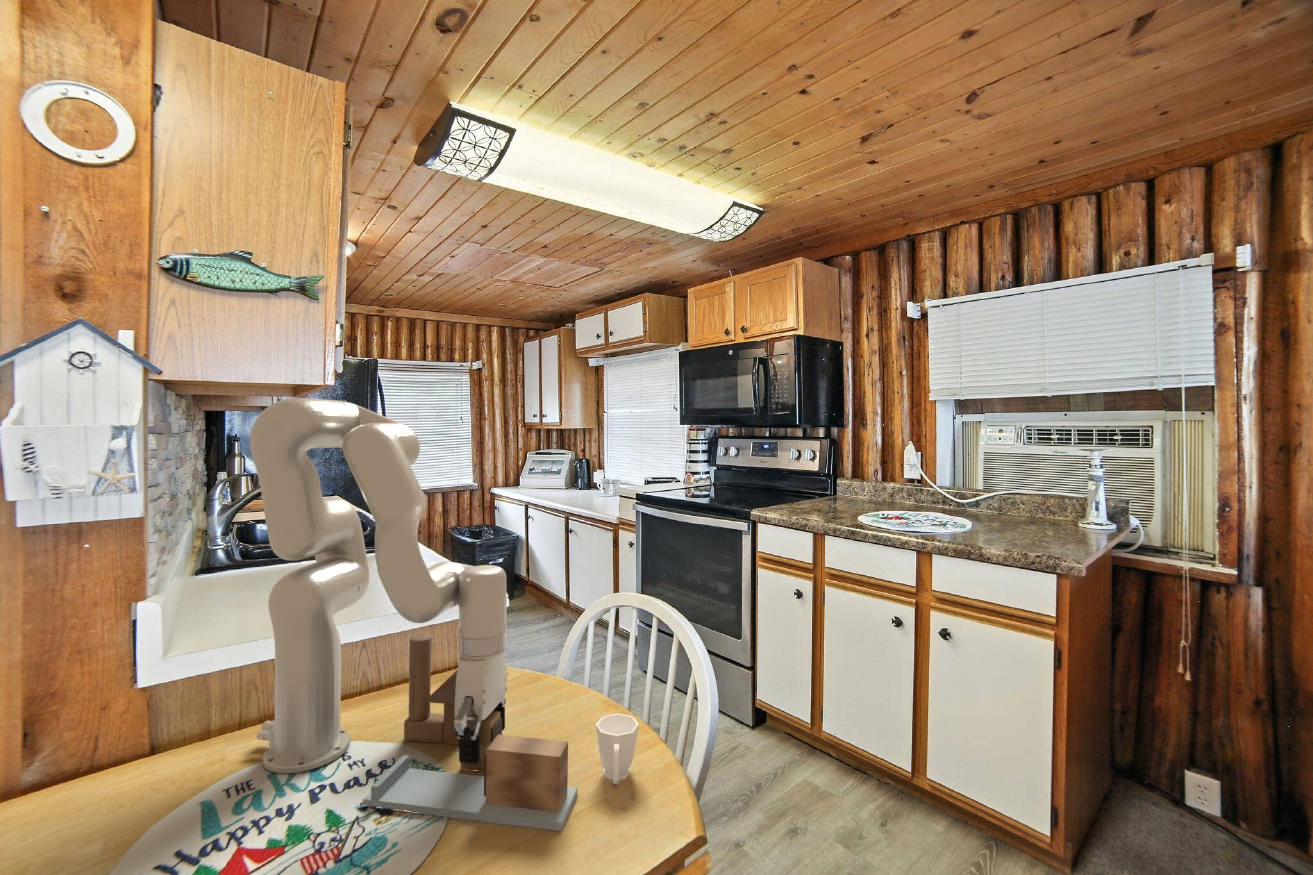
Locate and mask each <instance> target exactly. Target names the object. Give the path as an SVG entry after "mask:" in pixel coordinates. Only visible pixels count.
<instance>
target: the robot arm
mask: <svg viewBox="0 0 1313 875" xmlns="http://www.w3.org/2000/svg"><path fill="white" fill-rule="evenodd" d="M249 448H250V453H251V456H252V460H253V463H254V466H255V470H256V474H257V476H258V477H257V478H258V480H259V487H260V492H261V500H262V501H261V502H262V507H263V512H264V519H265V525H266V530H267V536H268V541H269V545H270V547H271V550H272V551H273V554H275V555H276V556H277V557H278V558H280V559H282V560H285V561H299V560H303V559H308V558H312V557H314V558H315V562H314V563H310V564H308V565H305V566H301V567H300V568H297V569H294V570H292V571H290V572H289V573H287V574H285V575H284V576H282V577H281V578H280V579H278V580H277V582H275V584H274V586H273V587H272V588H271V591H270V593H269V596H268V601H267V602H268V603H267V604H268V611H269V612H268V613H269V617H270V620H271V625H272V630H273V637H274V668H275V669H274V720H266V721H264V722H262V726H261V728H260V730H259V731H258V732H257V734H256V739H257V740H261V741H268V747H267V749H266V750H265V751H264V753H263V756H262V763H263V764H262V765H263V767H264V768H265V769H266V770H268V771H270V772H272V773H277V774H297V773H296V772H298V773H301V772H302V771H303V772H307V770H308V771H310V770H311V771H312V770H313V769H316V768H320V767H322V766H324V765H325V766H326V765H327V764H329V763H331V762H333V761H335V760H336V759H338V758H339V757H340V756H342V755H343V754H344V753H345V752H346V751H347V750H348V749H349V747H350V744H351V734H350V733H349V731H348V730H347V729H345V728H342V727H341V704H342V703H341V698H342V697H341V694H342V693H341V691H342V688H341V687H342V686H341V684H342V682H341V681H342V680H341V679H342V678H341V677H342V676H341V675H342V643H341V637H340V633H339V631H338V628H337V627H336V625H335V622H334V615H336V614H337V613H339V612H341V611H343V610H345V609H347V608H349V607H350V606H352V605H355V604H356V603H358V602H359V601H360V600H361V599H362V598H363V597H364V596H365V594H366V592H367V590H368V589H369V586H370V585H369V584H370V570H369V569H370V568H369V564H368V563H369V561H368V554H367V551H366V550H367V549H366V544H365V538H364V530H363V527H362V522H361V518H360V516H359V514H358V512H357V510H356V509H355V508H354V507H353V505H351V504H350V503H349V502H348V501H347V500H344V499H342V498H338V497H324V496H323V493H322V487H321V480H320V479H321V478H320V475H319V472H318V469H317V468H316V466H315V465H314V462H313V461H312V460H311V459H310V457H309V456H308V453H307V452H308V451H309V450H311V449H332V448H333V449H334V448H339V449H342V453H343V456H344V458H345V461H346V462H347V465H348V467H349V470H350V471H351V474H352V476H353V478H354V479H355V482H356V483H357V487H358V488H359V490H360V493H361V494H362V497H363V498H364V501H365V502H366V505H367V507H368V509H369V511H370V514H371V515H372V518H373V520H374V523H375V524H374V525H375V531H374V558H375V567H376V570H377V574H378V577H379V579H380V582H381V583H382V586H383V588H384V590H385V593H386V595H387V596H388V598H389V600H390V602H391V604H392V606H393V608H394V609H395V610H396V611H397V613H398V614H399V615H400V616H401V617H402V618H403V619H405V620H406V621H408V622H411V623H414V624H424V623H428V622H430V621H432V620H434V619H436V618H437V617H439V616H441V615H442V614H443V613H445V612H446V611H447V610H449V609H451V608H453V607H456V606H458V655H459V656H460V657H459V659H458V662H457V664H458V665H457V669H456V670H457V677H456V689H455V721H454V726H455V729H456V735H457V738H458V739H459V744H458V760H459V762H460V763H461V762H462V763H473V764H477V763H478V762H479V761H480V737H477V735H478V731H479V727H480V723H481V721H483V720H484V719H486V718H487V717H488V716H489V714H490V713H491V712H492V711H500V712H501V714H500V718H502V732H503V731H504V730H505V728H506V707H505V705H506V703H507V699H506V696H505V695H506V692H507V680H508V673H507V668H506V667H507V665H506V653H505V652H506V651H507V573H506V571H505V570H504V568H502V567H501V566H498V565H494V564H493V565H491V564H482V565H470V564H464V563H459V562H453V561H442V562H438V563H436V564H433V565H432V566H430V567H427V565H426V563H425V561H424V558H423V556H422V554H421V553H422V552H421V549H420V546H419V545H420V544H419V539H418V538H419V537H418V536H419V535H418V534H419V527H420V526H419V525H420V522H421V520H422V518H423V515H424V513H425V510H426V508H427V504H428V503H427V502H428V501H427V496H426V495H425V493H424V491H423V490H422V487H421V485H420V483H419V481H418V478H417V476H416V474H415V473H414V470H413V468H412V465H413V464H414V463H415V462H416V461H417V459H418V458H419V455H420V453H421V452H420V451H421V446H420V441H419V438H418V436H417V434H415V432H414V431H413V429H411V428H410V427H409V426H407V425H405V424H404V423H402V422H400V421H397V420H394V419H393V418H389V417H387V416H384V415H382V414H379V413H378V412H377V413H376V412H374V411H373V410H370V409H368V408H365V407H363V406H361V405H358V404H355V403H353V402H348V401H345V400H335V399H322V398H315V397H292V398H290V397H289V398H286V399H282V400H279V401H276V402H273V403H272V404H270V405H269V406H267V407H266V408H264V410H262V411H261V412H260V413H259V414H258V416H257V417H256V419H255V420H254V423H253V425H252V428H251V431H250V436H249ZM470 713H471V714H476V715H477V717H471V716H469V714H470ZM467 722H475V723H474V726H473V730H471V729H470V728H469V727H467Z"/></svg>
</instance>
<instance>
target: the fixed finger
mask: <svg viewBox="0 0 1313 875" xmlns="http://www.w3.org/2000/svg"><path fill="white" fill-rule="evenodd" d="M568 770H569V741H567V740H566V741H564V740H556V739H555V740H554V739H546V738H536V737H525V736H517V735H508V734H507V735H505V734H502V735H497V737H496V738H495V739H494V741H493V742H492V743H491V744H490V746H489V747H488V748H487V753H486V754H485V757H484V772H483V773H484V774H483V777H484V796H486V804H491V805H500V806H508V807H517V808H525V809H534V810H542V811H550V812H559V811H560V809H561V807H562V805H563V803H564V801H565V799H566V796H567V786H568V784H569V783H568V777H569V775H568V772H569V771H568Z"/></svg>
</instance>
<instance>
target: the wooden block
mask: <svg viewBox="0 0 1313 875" xmlns="http://www.w3.org/2000/svg"><path fill="white" fill-rule="evenodd" d="M408 651H409V658H408V659H409V662H408V664H409V665H408V666H409V668H408V670H409V672H408V673H409V674H408V675H409V676H408V717H407V718H406V719H405V720H404V722H403V740H404V741H405V742H419V743H434V744H435V743H437V744H442V743H443V744H447V745H459V739H458V738H457V735H456V729H455V726H454V721H455V689H456V677H457V669H456V670H455V671H454V672H453V673H452V674H451V675H450V676H449V677H448V678H447V679H446V680H445V681H444V682H443V683H441V684H440V685H439V687H437V688H436V689H435V690H434V692H432V694H431V683H432V682H431V680H432V678H431V676H432V673H431V670H432V668H431V666H432V663H431V662H432V636H431V634H430V635H429V634H425V633H424V634H416V635H413V636H411V637H410V639H409V650H408ZM431 704H443V714H442V713H437V712H431Z"/></svg>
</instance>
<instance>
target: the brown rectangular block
mask: <svg viewBox="0 0 1313 875" xmlns="http://www.w3.org/2000/svg"><path fill="white" fill-rule="evenodd" d="M500 714H501V712H500V711H492V712H491V713H490V714H489V716H488V717H487V718H486V719H484V720H483V721H481V723H480V727H479V731H478V735H477V737H480V761H479V762H478V763H477V764H473V763H462V762H460V770H461V769H466V770H465V771H469V770H478V771H482V772H481V773H484V772H483V771H484V757H485V754H486V753H487V748H488V747H489V746H490V744H491V743H492V742H493V741H494V739H495V738H496V737H497V735H503V731H502V718H500ZM469 716H471V717H477V715H476V714H471V713H470V714H469ZM474 723H475V722H467V727H469V728H470V729H471V730H473V726H474ZM467 769H468V770H467ZM478 771H477V772H478Z"/></svg>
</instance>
